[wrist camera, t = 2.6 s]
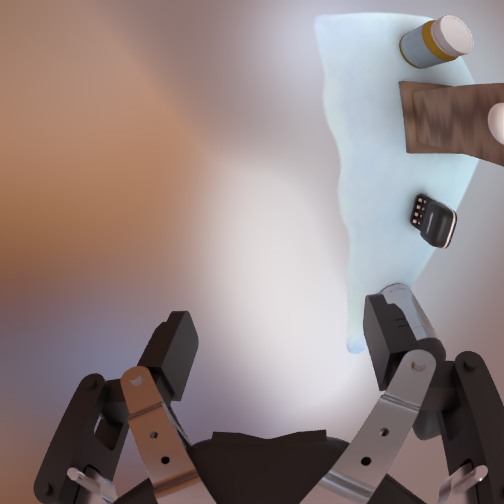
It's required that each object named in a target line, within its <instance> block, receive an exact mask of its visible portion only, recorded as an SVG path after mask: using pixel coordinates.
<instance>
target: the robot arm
mask: <svg viewBox="0 0 504 504" xmlns="http://www.w3.org/2000/svg"><path fill="white" fill-rule="evenodd" d="M363 330H364V336H365V339H366V343H367V346H368V349H369V353H370V356H371V360H372V363H373V367H374V371H375V374H376V378H377V382H378V386H379V390H380V391H384V390H386V392H385V393H384V395H381V397H380V398H379V400H378V401H377V403H376V405H375V406H374V408H373V410H372V411H371V413H370V414H369V416H368V418H367V419H366V421H365V422H364V424H363V425H362V427H361V428H360V430H359V431H358V433H357V434H356V436H355V437H354V439H353V440H352V442H351V443H348V442H346V441H344V440H341V439H338V438H333V437H327V436H326V430H317V431H305V432H296V433H292V434H288V435H285V436H280V437H277V438H272V439H263V438H259V437H254V436H250V435H246V434H242V433H229V432H228V433H227V432H213V436H212V439H208V440H204V441H201V442H198V443H196V444H192V443H191V441H190V440H189V438H188V436H187V435H186V433H185V431H184V429H183V427H182V426H181V424H180V422H179V420H178V418H177V416H176V414H175V412H174V410H173V408H172V407H171V405H170V403H171V401H181V398H182V395H183V392H184V389H185V386H186V383H187V379H188V376H189V373H190V370H191V367H192V364H193V361H194V358H195V355H196V352H197V349H198V336H197V332H196V330H195V327H194V324H193V321H192V318H191V316H190V313H189V312H188V311H172V312H171V314H170V316H169V318H168V320H167V322H162V323H161V324H160V325H159V326H158V327H157V328H156V329H155V331H154V333H153V335H152V338H151V339H150V340H149V343H148V345H147V346H146V348H145V350H144V353H143V354H142V356H141V358H140V360H139V362H138V364H137V366H135V367H132V368H130V369H128V370H127V371H126V372H124V374H123V375H122V377H121V378H120V379H115V380H108V381H105V379H104V378H103V376H102V375H100V374H97V373H94V374H90V375H88V376H86V377H85V378H84V379H82V381H81V382H80V384H79V386H78V388H77V389H76V392H75V393H74V395H73V398H72V399H71V401H70V403H69V405H68V407H67V409H66V411H65V413H64V416H63V417H62V420H61V422H60V424H59V426H58V428H57V430H56V432H55V435H54V437H53V439H52V441H51V443H50V446H49V448H48V451H47V453H46V455H45V458H44V460H43V462H42V465H41V467H40V470H39V472H38V475H37V477H36V480H35V483H34V493H35V496H36V498H37V499H38V500H39V501H40V502H41V503H43V504H426V503H425V502H424V501H422V500H421V499H420V498H418V497H417V496H416V495H414V494H413V493H412V492H410V491H409V490H408V489H406V488H405V487H404V486H402V485H401V484H400V483H399V482H397V481H396V480H395V479H394V478H392V477H391V476H390V475H389V474H387V471H388V470H389V468H390V466H391V465H392V463H393V461H394V459H395V458H396V456H397V454H398V452H399V450H400V449H401V447H402V445H403V443H404V441H405V439H406V437H407V435H408V433H409V432H410V429H411V427H413V430H414V433H415V434H416V436H417V437H418V438H419V439H420V440H428V439H431V438H434V437H436V436H439V435H441V436H442V440H443V445H444V450H445V455H446V460H447V466H448V471H449V477H448V478H447V479H446V480H445V481H444V482H443V484H442V485H441V487H440V490H439V499H438V502H437V504H504V406H503V403H502V401H501V399H500V396H499V393H498V391H497V389H496V386H495V384H494V382H493V380H492V377H491V375H490V373H489V371H488V369H487V367H486V364H485V362H484V360H483V359H482V357H481V356H480V355H478V354H477V353H475V352H471V351H464V352H462V353H460V354H459V355H458V356H457V357H456V359H455V361H445V359H446V352H445V349H444V347H443V345H442V343H441V341H440V339H439V337H438V336H437V334H436V332H435V330H434V329H433V327H432V325H431V323H430V322H429V320H428V318H427V316H426V315H425V313H424V311H423V310H422V308H421V306H420V305H419V303H418V301H417V300H416V298H415V297H414V295H413V293H412V292H411V290H410V289H409V288H408V287H407V286H406V285H403V284H394V285H391V286H388V287H387V288H385V289H384V290H383V291H381V292H380V294H375V295H367V296H366V298H365V308H364V319H363ZM99 416H100V417H101V420H100V422H99V425H98V427H97V430H96V432H95V434H94V428H95V425H96V423H97V420H98V418H99ZM129 427H130V429H131V432H132V435H133V438H134V441H135V443H136V446H137V448H138V451H139V454H140V456H141V459H142V461H143V464H144V466H145V469H146V471H147V473H148V475H149V477H148V478H147V479H146V480H144V481H143V482H141V483H140V484H139V485H137V486H136V487H134V488H133V489H131V490H130V491H129V492H127V493H125V494H124V495H122V496H121V497H119V498H118V499H117V495H116V491H115V487H114V485H113V483H112V481H113V477H114V474H115V470H116V467H117V464H118V461H119V457H120V454H121V451H122V448H123V445H124V441H125V439H126V435H127V433H128V430H129Z"/></svg>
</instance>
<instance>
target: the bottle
mask: <svg viewBox="0 0 504 504" xmlns="http://www.w3.org/2000/svg"><path fill="white" fill-rule="evenodd" d="M473 47H474V41H473V36H472V34H471V32H470V30H469V29H468V27H467V26H466V25H465V24H464V23H463V22H462V21H461V20H460V19H458V18H456V17H454V16H449V15H448V16H443V17H442V18H440V19H438V20H432V21H429V22H427V23H425V24H423V25H421V26H420V27H418V28H416V29H415V30H413V31H411V32H410V33H408V34H407V35H405V36H404V37H403V38H402V39H401V42H400V48H401V52H402V54H403V56H404V58H405V59H406V60H407V61H408V62H409V63H410V64H412V65H413V66H415V67H418V68H427V67H431V66H434V65H437V64H441V63H445V62H448V61H452V60H455V59H456V58H457V57H458V56H461V55H465V54H468V53H470V52H471V51H472V50H473Z"/></svg>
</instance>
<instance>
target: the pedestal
mask: <svg viewBox="0 0 504 504" xmlns="http://www.w3.org/2000/svg"><path fill="white" fill-rule="evenodd" d="M399 88H400V94H401V101H402V108H403V116H404V125H405V135H406V147H407V153H410V154H414V153H452V154H466V155H469V156H473V157H476V158H479V159H483V160H486V161H489V162H492V163H495V164H498V165H501V166H504V145H503V144H501V143H500V142H498V141H497V140H496V139H495V138H494V136H493V135H492V133H491V131H490V129H489V125H488V114H489V111H490V109H491V108H492V107H493V106H494V105H496V104H498V103H504V83H493V84H476V85H464V86H455V87H454V86H446V85H439V84H430V83H419V82H405V81H401V82H399Z"/></svg>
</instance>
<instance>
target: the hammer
mask: <svg viewBox="0 0 504 504" xmlns="http://www.w3.org/2000/svg"><path fill="white" fill-rule="evenodd" d="M488 125H489V129H490V131H491V133H492V135H493V136H494V138H495V139H496V140H497V141H498V142H500V143H501V144H503V145H504V103H498V104H496V105H494V106H493V107H492V108H491V109H490V111H489V114H488Z"/></svg>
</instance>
